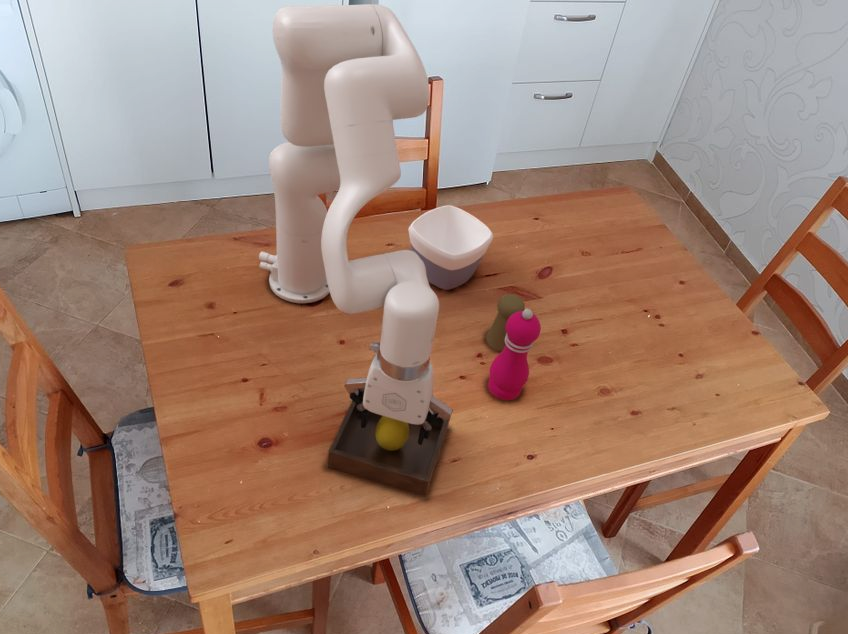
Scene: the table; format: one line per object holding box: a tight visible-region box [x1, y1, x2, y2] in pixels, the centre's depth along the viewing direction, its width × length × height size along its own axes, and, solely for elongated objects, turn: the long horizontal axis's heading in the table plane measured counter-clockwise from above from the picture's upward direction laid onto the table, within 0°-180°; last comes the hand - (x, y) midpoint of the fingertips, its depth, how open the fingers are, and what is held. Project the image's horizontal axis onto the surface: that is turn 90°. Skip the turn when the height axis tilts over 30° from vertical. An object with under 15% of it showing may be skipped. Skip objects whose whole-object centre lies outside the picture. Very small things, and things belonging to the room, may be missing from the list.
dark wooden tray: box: [327, 388, 451, 497], centre depth 121 cm, size 17×15×4 cm
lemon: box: [375, 416, 409, 451], centre depth 120 cm, size 6×6×8 cm
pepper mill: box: [487, 308, 542, 401], centre depth 129 cm, size 7×7×20 cm
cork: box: [485, 293, 526, 353], centre depth 141 cm, size 6×6×11 cm
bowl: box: [407, 204, 494, 291], centre depth 153 cm, size 15×15×11 cm
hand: (393, 429), depth 119 cm, fingers open, 9 cm apart
